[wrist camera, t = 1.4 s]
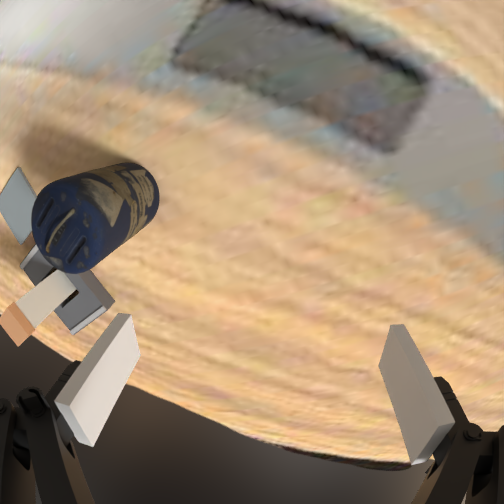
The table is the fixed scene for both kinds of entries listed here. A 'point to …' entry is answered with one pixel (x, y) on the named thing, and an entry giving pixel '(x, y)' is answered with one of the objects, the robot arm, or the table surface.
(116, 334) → the robot arm
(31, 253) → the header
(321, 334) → the table surface
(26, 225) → the pad
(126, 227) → the canister
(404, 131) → the table surface
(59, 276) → the plug
